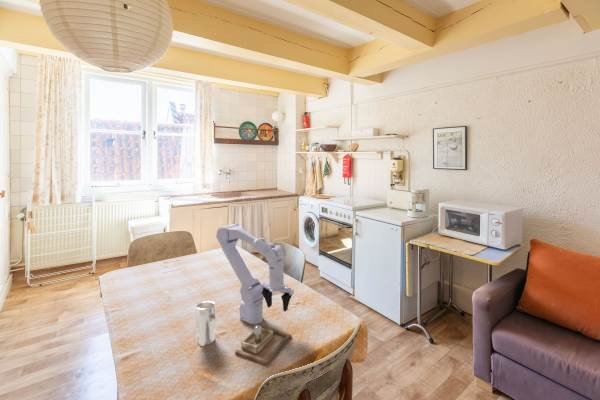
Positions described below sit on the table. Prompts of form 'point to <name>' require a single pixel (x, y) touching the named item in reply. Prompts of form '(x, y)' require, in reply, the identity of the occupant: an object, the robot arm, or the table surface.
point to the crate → (257, 339)
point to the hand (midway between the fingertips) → (277, 308)
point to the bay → (274, 352)
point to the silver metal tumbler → (206, 322)
